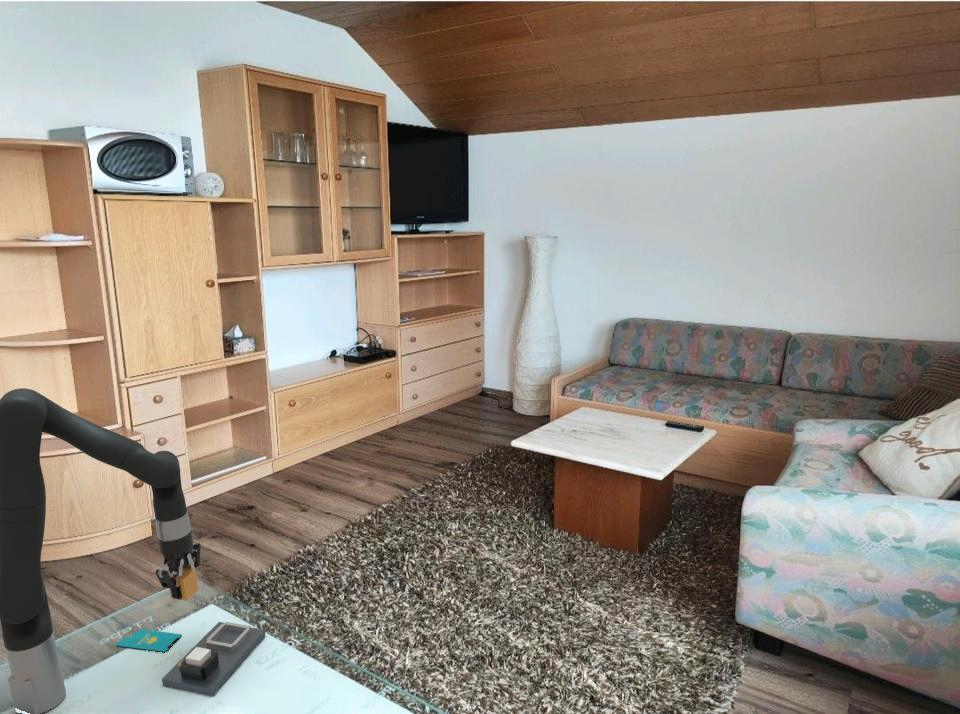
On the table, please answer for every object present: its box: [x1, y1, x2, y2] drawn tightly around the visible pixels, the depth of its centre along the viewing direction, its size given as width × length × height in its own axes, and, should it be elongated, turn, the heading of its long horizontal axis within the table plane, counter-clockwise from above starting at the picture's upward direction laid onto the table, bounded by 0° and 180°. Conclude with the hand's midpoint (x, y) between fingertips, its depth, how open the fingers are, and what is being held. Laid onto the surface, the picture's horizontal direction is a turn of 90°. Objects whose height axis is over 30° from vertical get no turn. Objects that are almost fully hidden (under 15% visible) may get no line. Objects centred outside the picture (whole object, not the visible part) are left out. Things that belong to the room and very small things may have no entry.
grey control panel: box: [161, 621, 266, 697], centre depth 167 cm, size 22×14×5 cm, turn 165°
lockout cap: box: [169, 568, 199, 601], centre depth 165 cm, size 4×4×6 cm
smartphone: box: [116, 628, 183, 654], centre depth 175 cm, size 7×1×15 cm
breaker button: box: [186, 647, 211, 667], centre depth 161 cm, size 4×4×4 cm
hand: (184, 592), depth 166 cm, fingers closed on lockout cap, 4 cm apart
